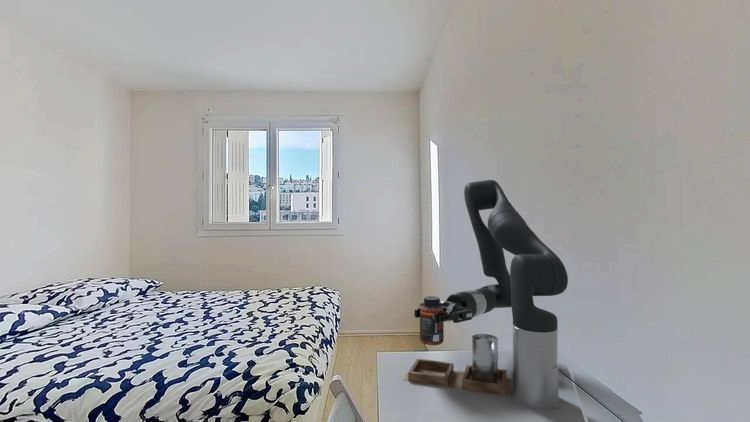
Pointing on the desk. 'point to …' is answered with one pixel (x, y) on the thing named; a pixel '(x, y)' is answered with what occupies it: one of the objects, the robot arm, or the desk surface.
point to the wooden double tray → (456, 377)
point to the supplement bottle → (431, 322)
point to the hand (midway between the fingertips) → (425, 316)
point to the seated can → (485, 358)
